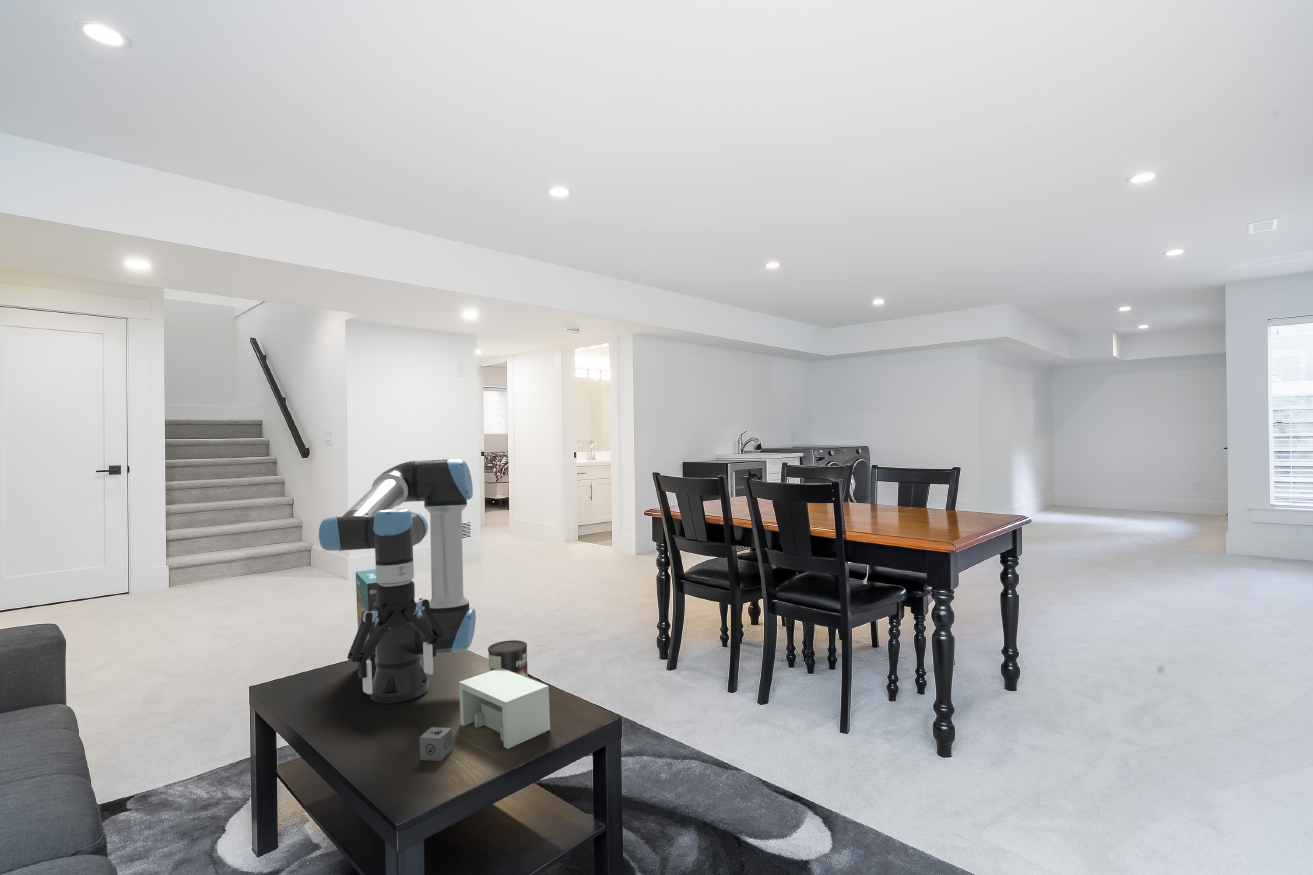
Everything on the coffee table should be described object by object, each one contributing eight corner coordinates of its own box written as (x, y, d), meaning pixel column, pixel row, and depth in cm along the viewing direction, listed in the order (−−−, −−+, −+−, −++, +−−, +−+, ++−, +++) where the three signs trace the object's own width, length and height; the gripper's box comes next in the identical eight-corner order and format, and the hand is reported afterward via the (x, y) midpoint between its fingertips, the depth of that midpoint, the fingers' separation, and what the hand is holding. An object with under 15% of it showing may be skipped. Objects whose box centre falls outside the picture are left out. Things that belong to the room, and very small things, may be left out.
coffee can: (534, 691, 178) (532, 640, 178) (519, 706, 168) (517, 652, 168) (500, 689, 180) (498, 639, 180) (483, 705, 170) (480, 651, 170)
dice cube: (441, 761, 141) (440, 738, 141) (420, 760, 142) (419, 737, 142) (452, 749, 146) (451, 727, 146) (432, 748, 147) (431, 727, 147)
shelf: (460, 724, 159) (458, 681, 159) (502, 707, 168) (500, 667, 168) (507, 748, 145) (505, 702, 145) (550, 729, 154) (548, 685, 154)
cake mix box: (393, 683, 188) (389, 580, 188) (371, 688, 185) (367, 583, 185) (379, 662, 207) (376, 568, 206) (359, 666, 203) (355, 571, 203)
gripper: (342, 596, 126) (346, 706, 126) (457, 573, 144) (460, 668, 144) (327, 591, 131) (331, 696, 131) (439, 569, 149) (443, 661, 149)
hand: (399, 682), depth 138 cm, fingers open, 13 cm apart
